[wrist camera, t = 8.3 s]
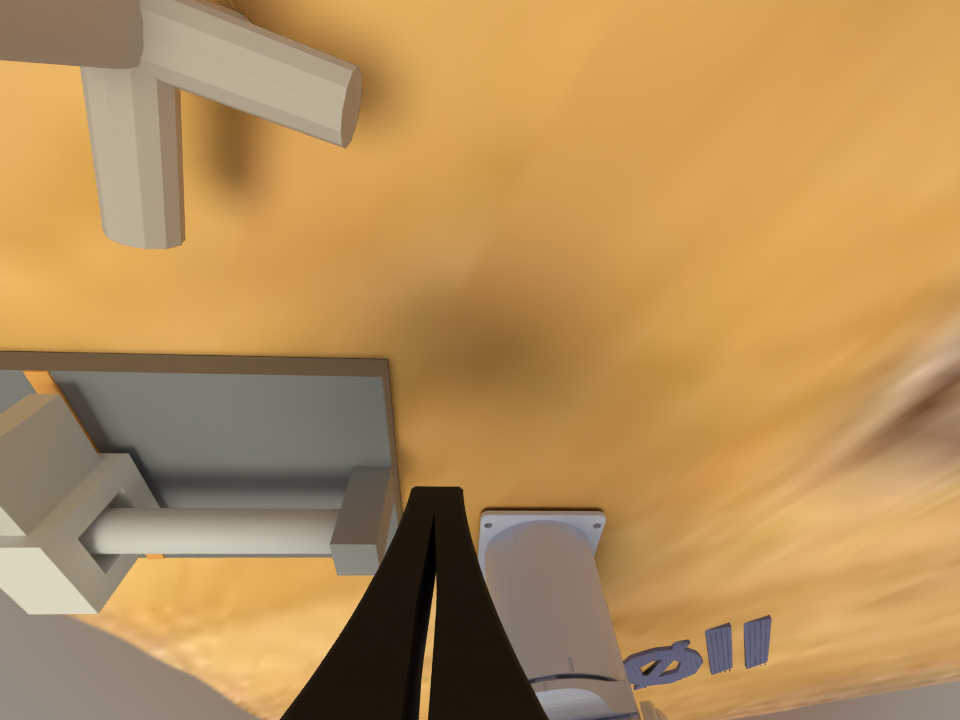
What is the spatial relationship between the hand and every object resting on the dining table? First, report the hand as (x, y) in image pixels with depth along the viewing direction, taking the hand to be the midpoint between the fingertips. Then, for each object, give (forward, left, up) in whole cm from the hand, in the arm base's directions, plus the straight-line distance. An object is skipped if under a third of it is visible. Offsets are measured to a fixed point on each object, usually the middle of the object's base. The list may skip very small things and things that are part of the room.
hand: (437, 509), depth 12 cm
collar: (-6, +17, -7) cm, 20 cm away
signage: (-36, -16, -10) cm, 40 cm away
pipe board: (-8, +15, -9) cm, 19 cm away
